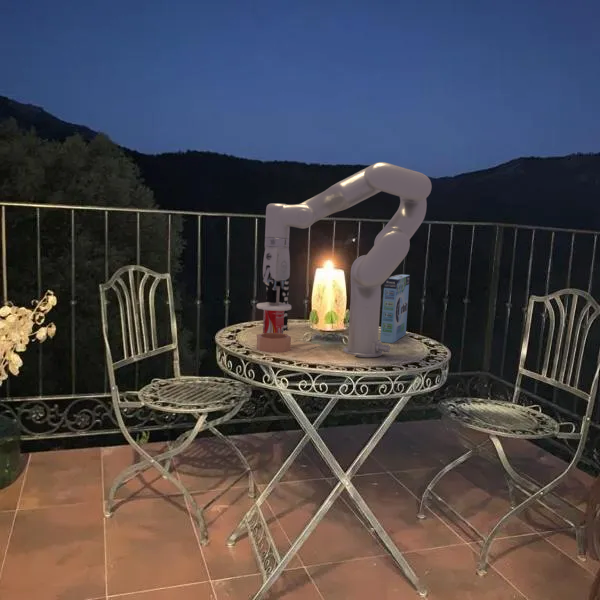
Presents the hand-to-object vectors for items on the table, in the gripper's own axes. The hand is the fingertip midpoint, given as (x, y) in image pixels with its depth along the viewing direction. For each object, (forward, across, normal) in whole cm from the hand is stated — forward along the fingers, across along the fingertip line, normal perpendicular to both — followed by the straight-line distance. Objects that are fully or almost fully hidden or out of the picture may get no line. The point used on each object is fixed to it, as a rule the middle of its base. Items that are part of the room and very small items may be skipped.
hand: (274, 301), depth 199 cm
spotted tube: (+16, +35, +18) cm, 43 cm away
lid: (+2, 0, 0) cm, 2 cm away
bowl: (+16, 0, 0) cm, 16 cm away
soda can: (+16, +16, +9) cm, 25 cm away
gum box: (+16, +46, -25) cm, 55 cm away
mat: (+16, +10, -5) cm, 20 cm away
